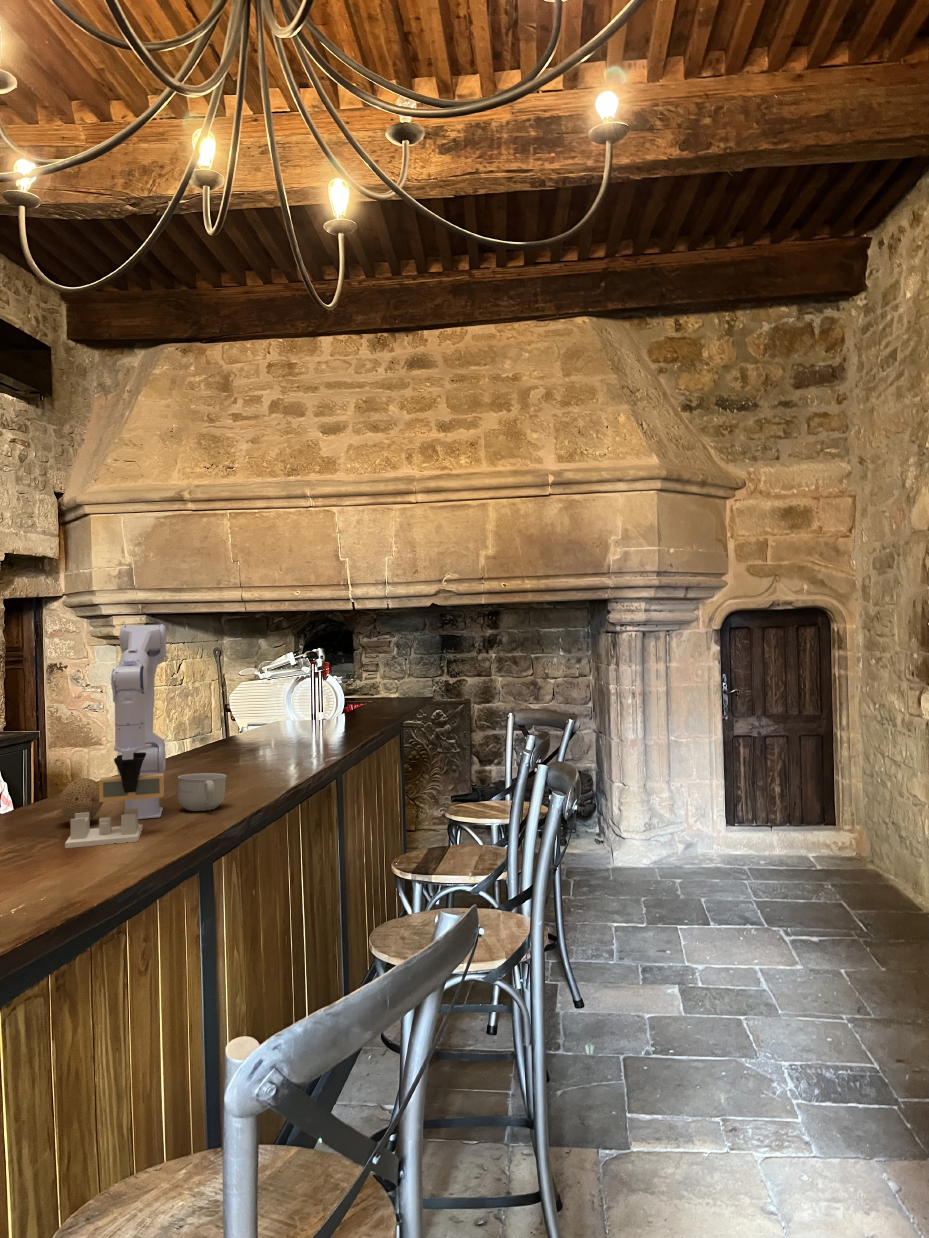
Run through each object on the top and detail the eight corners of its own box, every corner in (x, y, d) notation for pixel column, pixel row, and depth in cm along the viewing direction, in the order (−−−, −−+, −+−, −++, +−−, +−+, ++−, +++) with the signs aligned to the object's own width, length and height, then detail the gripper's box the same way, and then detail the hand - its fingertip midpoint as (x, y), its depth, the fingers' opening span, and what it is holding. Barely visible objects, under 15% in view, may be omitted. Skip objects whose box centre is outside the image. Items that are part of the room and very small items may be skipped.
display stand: (74, 835, 164) (74, 811, 164) (142, 829, 168) (142, 805, 168) (65, 848, 154) (64, 822, 154) (137, 841, 158) (137, 816, 158)
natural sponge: (101, 826, 171) (101, 779, 171) (55, 830, 168) (55, 783, 169) (107, 817, 180) (106, 773, 180) (63, 821, 177) (62, 776, 177)
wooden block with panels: (101, 799, 164) (101, 777, 164) (163, 794, 167) (163, 773, 168) (99, 802, 160) (99, 780, 160) (163, 797, 164) (162, 775, 164)
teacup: (177, 806, 190) (177, 773, 190) (225, 802, 194) (224, 769, 194) (178, 819, 177) (178, 782, 177) (229, 814, 181) (229, 778, 181)
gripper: (149, 726, 159) (150, 795, 158) (152, 719, 172) (153, 782, 172) (110, 728, 156) (111, 798, 156) (117, 721, 170) (118, 785, 170)
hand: (130, 790), depth 164 cm, fingers closed on wooden block with panels, 3 cm apart
